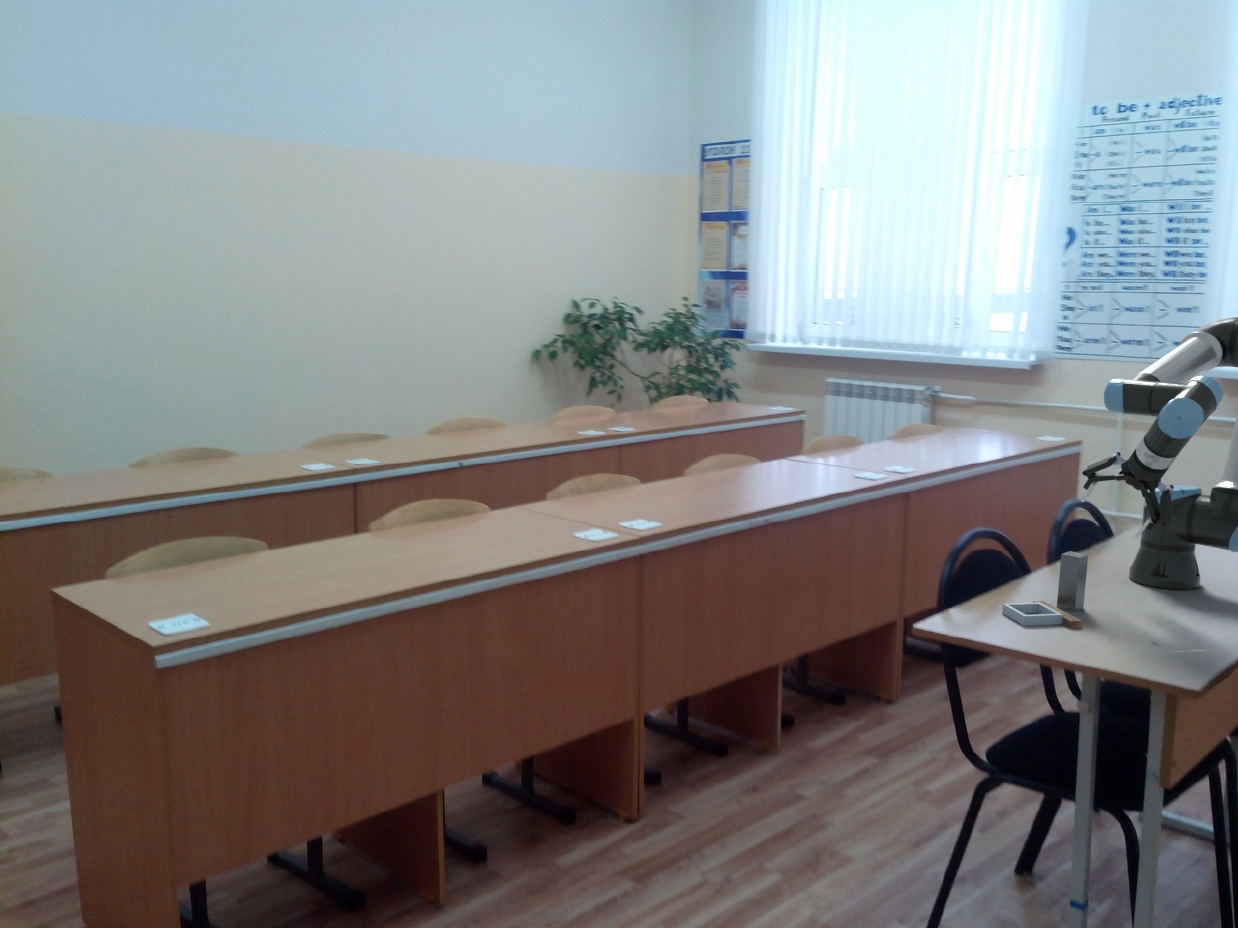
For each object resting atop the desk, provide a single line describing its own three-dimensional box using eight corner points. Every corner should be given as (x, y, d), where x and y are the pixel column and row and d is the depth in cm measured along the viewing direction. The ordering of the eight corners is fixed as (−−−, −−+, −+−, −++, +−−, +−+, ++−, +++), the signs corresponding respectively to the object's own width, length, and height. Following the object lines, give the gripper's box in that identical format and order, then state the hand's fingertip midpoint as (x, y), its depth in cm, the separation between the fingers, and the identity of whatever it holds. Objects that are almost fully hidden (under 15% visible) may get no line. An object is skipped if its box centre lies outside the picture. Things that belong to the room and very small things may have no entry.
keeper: (1039, 611, 225) (1039, 602, 225) (1062, 623, 217) (1063, 614, 216) (1002, 612, 224) (1002, 603, 223) (1023, 625, 215) (1024, 616, 215)
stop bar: (1065, 604, 231) (1070, 551, 229) (1083, 608, 228) (1088, 554, 226) (1056, 607, 228) (1061, 553, 226) (1074, 611, 225) (1079, 557, 223)
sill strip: (1043, 607, 228) (1043, 600, 228) (1081, 627, 215) (1081, 620, 214) (1032, 607, 228) (1033, 601, 227) (1070, 628, 214) (1070, 621, 214)
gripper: (1091, 433, 225) (1054, 493, 241) (1200, 501, 215) (1154, 558, 231) (1107, 415, 228) (1070, 475, 245) (1216, 481, 218) (1169, 539, 235)
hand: (1111, 516), depth 238 cm, fingers open, 13 cm apart
